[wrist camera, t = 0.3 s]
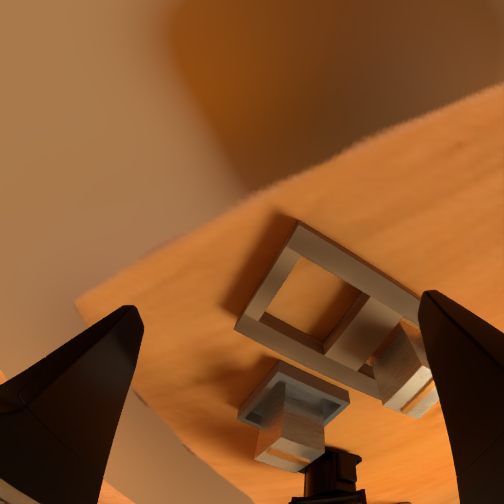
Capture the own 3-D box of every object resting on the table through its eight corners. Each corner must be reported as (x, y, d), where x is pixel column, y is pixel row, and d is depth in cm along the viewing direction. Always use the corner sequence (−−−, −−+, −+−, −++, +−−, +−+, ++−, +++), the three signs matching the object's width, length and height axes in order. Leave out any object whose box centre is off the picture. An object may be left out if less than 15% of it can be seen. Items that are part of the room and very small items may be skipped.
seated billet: (399, 370, 26) (418, 420, 19) (368, 354, 26) (383, 407, 19) (428, 337, 24) (456, 384, 17) (397, 318, 24) (423, 367, 17)
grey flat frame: (396, 395, 27) (400, 408, 25) (238, 317, 26) (233, 329, 24) (459, 324, 23) (468, 334, 21) (298, 219, 23) (298, 224, 21)
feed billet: (322, 399, 27) (324, 454, 20) (298, 422, 29) (295, 474, 22) (285, 382, 27) (280, 439, 20) (263, 407, 29) (253, 461, 22)
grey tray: (302, 433, 30) (302, 445, 28) (239, 407, 29) (236, 418, 28) (348, 391, 27) (350, 403, 25) (279, 359, 27) (278, 371, 25)
